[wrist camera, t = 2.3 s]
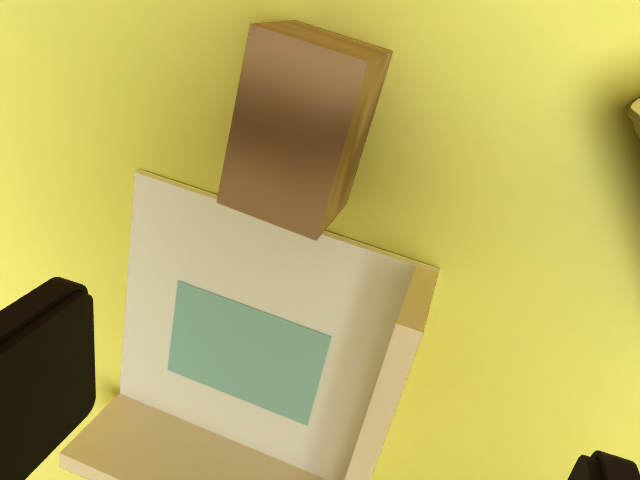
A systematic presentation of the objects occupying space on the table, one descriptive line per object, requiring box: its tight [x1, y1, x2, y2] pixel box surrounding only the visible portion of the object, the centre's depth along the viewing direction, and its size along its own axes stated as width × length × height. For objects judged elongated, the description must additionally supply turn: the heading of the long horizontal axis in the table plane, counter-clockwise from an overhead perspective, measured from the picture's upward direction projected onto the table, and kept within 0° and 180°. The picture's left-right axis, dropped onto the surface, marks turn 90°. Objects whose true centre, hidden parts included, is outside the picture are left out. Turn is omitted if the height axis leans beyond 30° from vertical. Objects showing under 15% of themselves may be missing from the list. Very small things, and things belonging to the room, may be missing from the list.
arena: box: [60, 170, 440, 480], centre depth 32 cm, size 18×18×7 cm
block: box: [217, 20, 393, 241], centre depth 26 cm, size 8×5×6 cm, turn 165°
